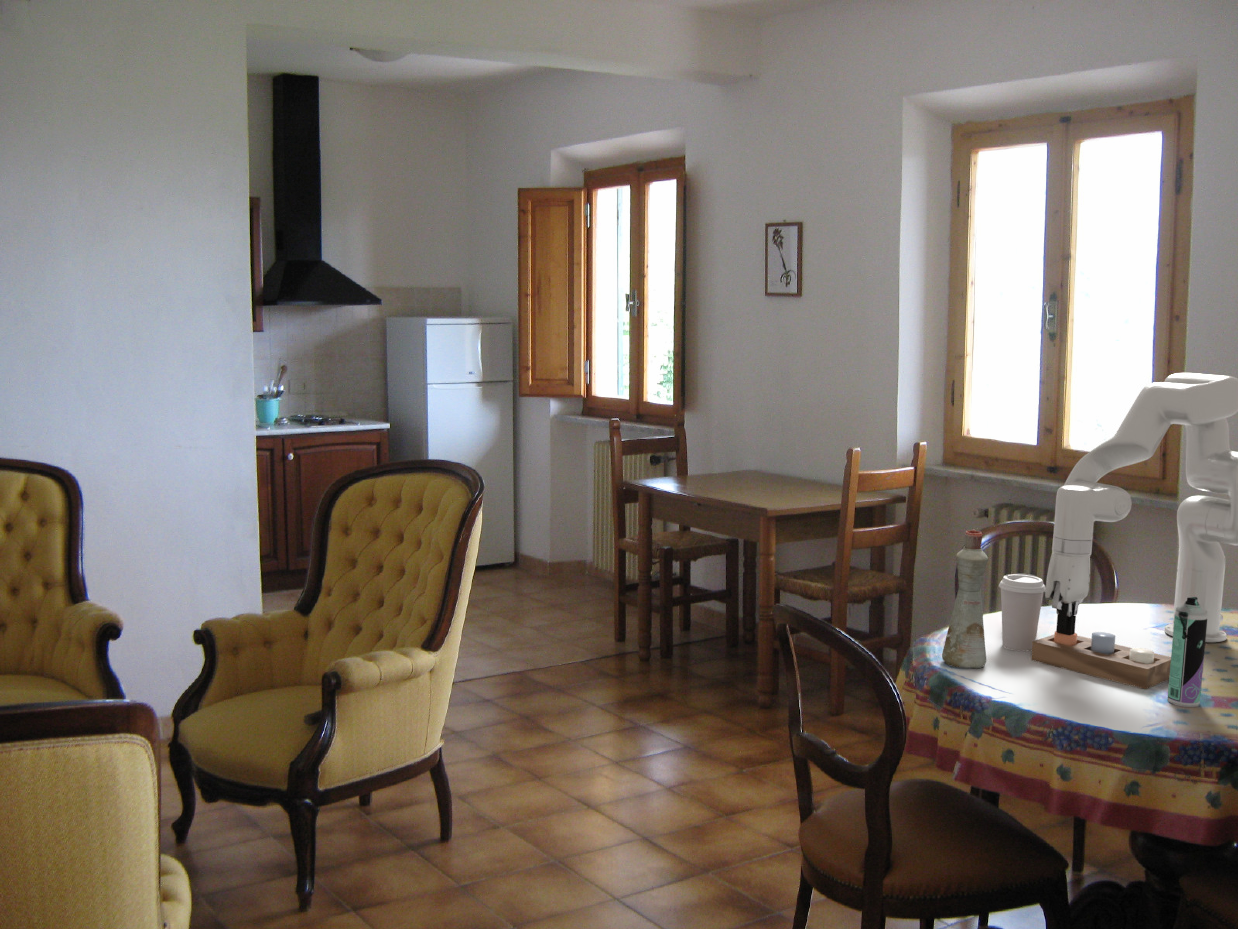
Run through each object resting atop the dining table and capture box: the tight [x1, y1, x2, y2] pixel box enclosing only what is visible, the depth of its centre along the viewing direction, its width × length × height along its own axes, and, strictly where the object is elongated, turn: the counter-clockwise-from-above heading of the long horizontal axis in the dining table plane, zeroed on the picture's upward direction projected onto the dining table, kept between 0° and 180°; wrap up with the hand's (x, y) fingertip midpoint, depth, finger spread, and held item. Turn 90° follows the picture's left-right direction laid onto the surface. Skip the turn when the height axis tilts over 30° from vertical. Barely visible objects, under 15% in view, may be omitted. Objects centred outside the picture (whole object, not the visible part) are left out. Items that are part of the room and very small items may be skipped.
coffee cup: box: [998, 573, 1046, 652], centre depth 259 cm, size 10×10×15 cm
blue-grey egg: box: [1091, 631, 1116, 655], centre depth 245 cm, size 4×4×5 cm
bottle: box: [941, 529, 989, 669], centre depth 244 cm, size 9×9×28 cm
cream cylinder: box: [1129, 647, 1155, 664], centre depth 239 cm, size 4×4×5 cm
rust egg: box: [1053, 630, 1078, 646], centre depth 251 cm, size 4×4×5 cm
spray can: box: [1167, 597, 1208, 708], centre depth 224 cm, size 6×6×20 cm
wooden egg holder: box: [1030, 634, 1171, 690], centre depth 245 cm, size 12×24×4 cm, turn 42°
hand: (1065, 633), depth 251 cm, fingers closed
